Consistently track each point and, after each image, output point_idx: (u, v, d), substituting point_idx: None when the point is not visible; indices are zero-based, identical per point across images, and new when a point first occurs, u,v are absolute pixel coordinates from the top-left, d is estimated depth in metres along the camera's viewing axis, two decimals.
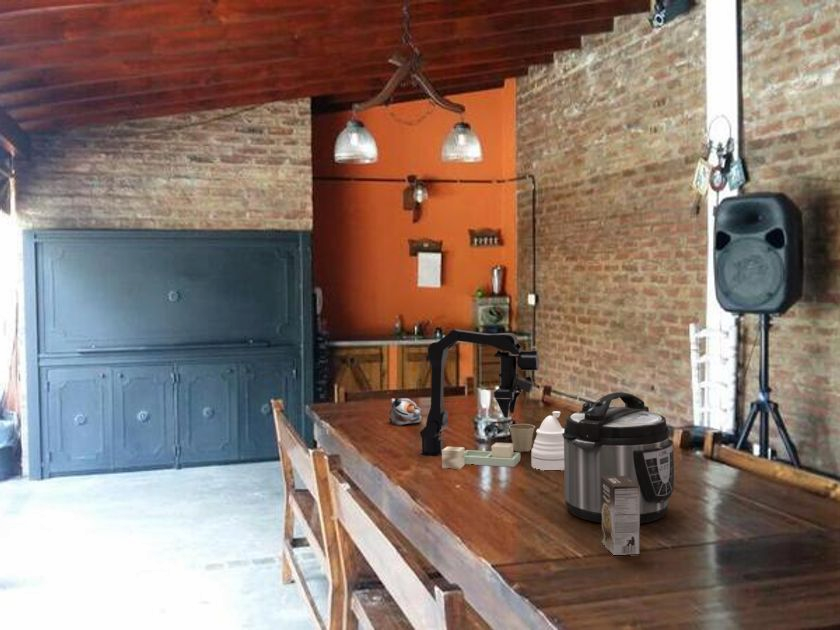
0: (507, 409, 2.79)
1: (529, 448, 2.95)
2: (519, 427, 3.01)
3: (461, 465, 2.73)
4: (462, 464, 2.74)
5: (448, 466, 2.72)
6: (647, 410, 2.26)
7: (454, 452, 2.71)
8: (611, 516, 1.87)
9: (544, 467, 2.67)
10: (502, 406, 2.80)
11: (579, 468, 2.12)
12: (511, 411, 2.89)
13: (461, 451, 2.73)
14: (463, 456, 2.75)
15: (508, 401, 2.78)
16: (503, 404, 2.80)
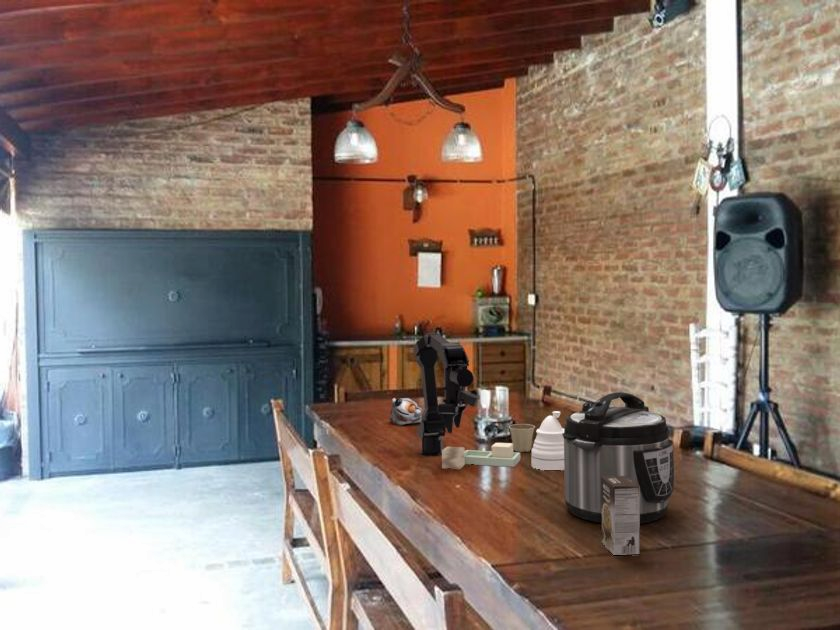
0: (451, 424, 2.69)
1: (529, 448, 2.95)
2: (519, 427, 3.01)
3: (461, 465, 2.73)
4: (462, 464, 2.74)
5: (448, 466, 2.72)
6: (647, 410, 2.26)
7: (454, 452, 2.71)
8: (612, 516, 1.87)
9: (544, 467, 2.67)
10: (446, 421, 2.69)
11: (579, 468, 2.12)
12: (457, 425, 2.79)
13: (461, 451, 2.73)
14: (463, 456, 2.75)
15: (452, 416, 2.68)
16: (447, 418, 2.69)
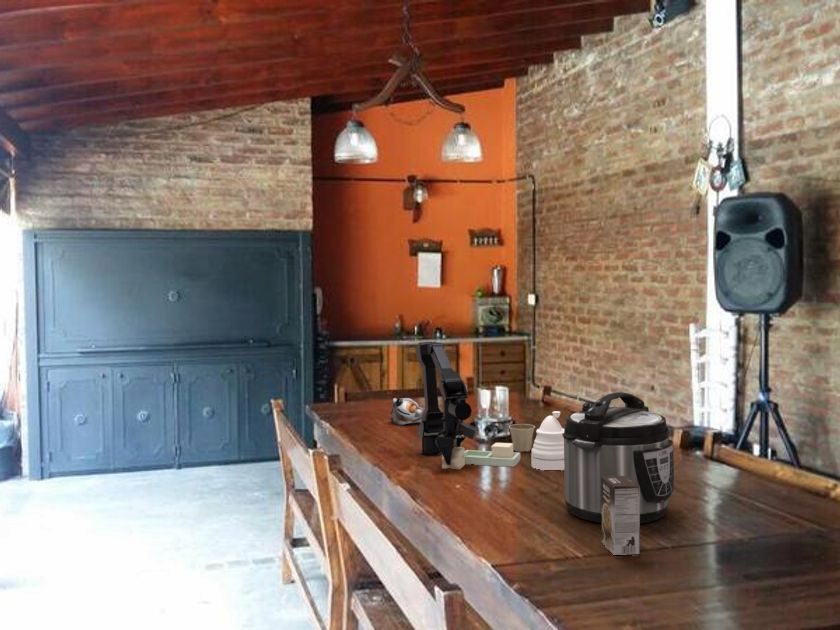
0: (449, 456, 2.70)
1: (529, 448, 2.95)
2: (519, 427, 3.01)
3: (461, 465, 2.73)
4: (462, 464, 2.74)
5: (448, 466, 2.72)
6: (647, 410, 2.26)
7: (454, 452, 2.71)
8: (612, 516, 1.87)
9: (544, 467, 2.67)
10: (444, 453, 2.70)
11: (579, 468, 2.12)
12: None
13: (461, 451, 2.73)
14: (463, 456, 2.75)
15: (450, 448, 2.68)
16: (445, 450, 2.70)
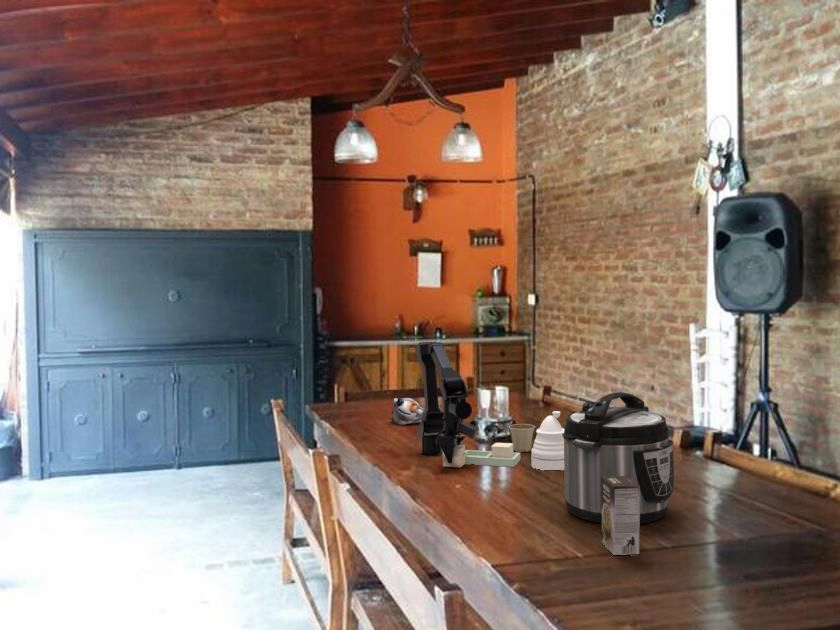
0: (451, 454, 2.71)
1: (529, 448, 2.95)
2: (519, 427, 3.01)
3: (462, 463, 2.73)
4: (463, 462, 2.74)
5: (449, 464, 2.72)
6: (647, 410, 2.26)
7: (455, 450, 2.72)
8: (611, 516, 1.87)
9: (544, 467, 2.67)
10: (446, 451, 2.71)
11: (579, 468, 2.12)
12: None
13: (462, 449, 2.73)
14: (464, 454, 2.76)
15: (452, 446, 2.69)
16: (447, 449, 2.71)
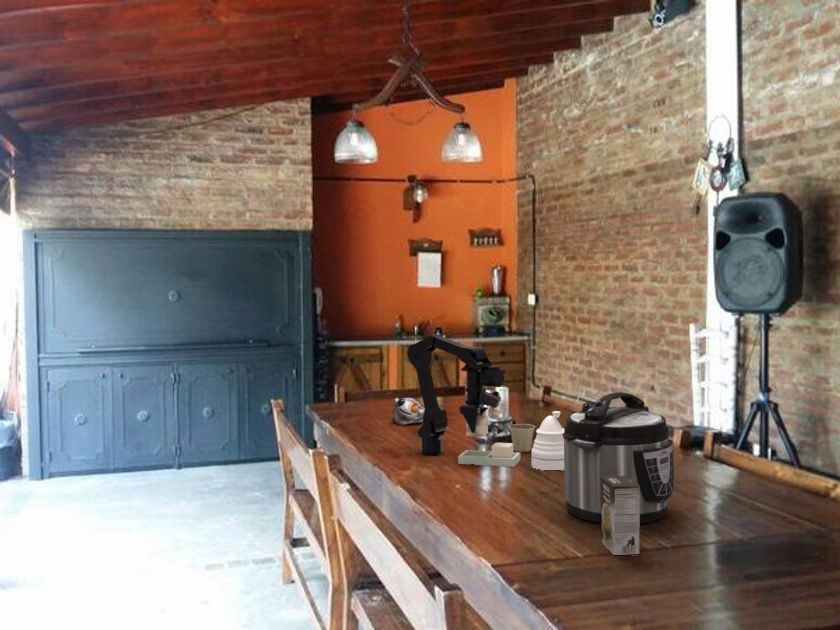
0: (474, 424, 2.77)
1: (529, 448, 2.95)
2: (519, 427, 3.01)
3: (485, 432, 2.79)
4: (486, 432, 2.80)
5: (472, 433, 2.78)
6: (647, 410, 2.26)
7: (478, 419, 2.78)
8: (611, 516, 1.87)
9: (544, 467, 2.67)
10: (469, 421, 2.77)
11: (579, 468, 2.12)
12: None
13: (485, 419, 2.79)
14: (486, 424, 2.82)
15: (475, 416, 2.76)
16: (470, 418, 2.77)
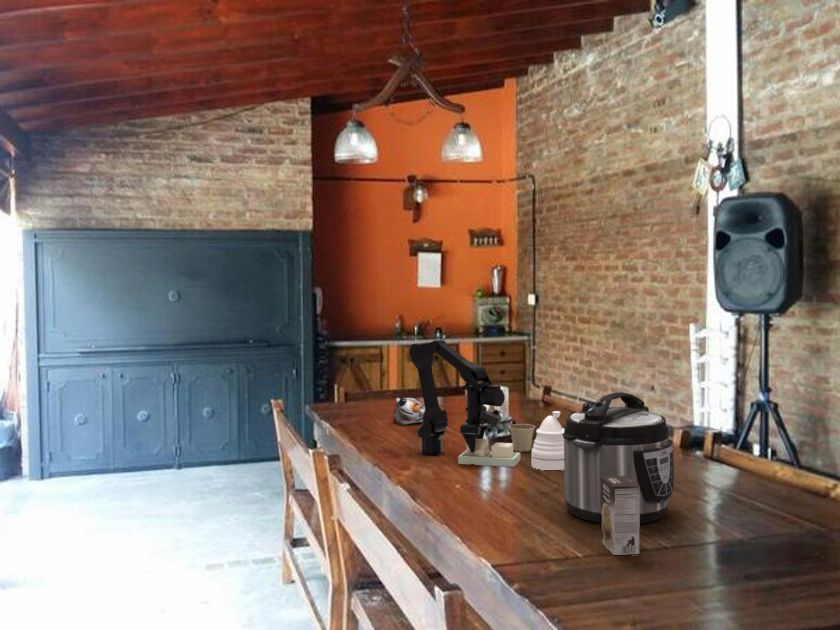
0: (473, 444, 2.76)
1: (529, 448, 2.95)
2: (519, 427, 3.01)
3: (485, 456, 2.80)
4: (486, 455, 2.81)
5: None
6: (647, 410, 2.26)
7: (478, 444, 2.78)
8: (612, 516, 1.87)
9: (544, 467, 2.67)
10: (468, 441, 2.76)
11: (579, 468, 2.12)
12: None
13: (485, 443, 2.80)
14: (487, 448, 2.82)
15: (474, 436, 2.75)
16: (469, 438, 2.76)
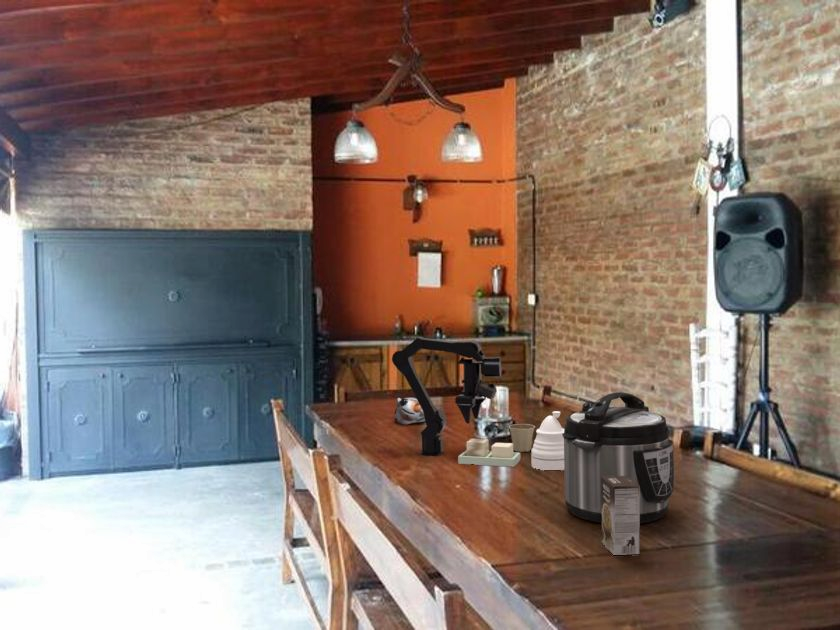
0: (468, 415, 2.86)
1: (529, 448, 2.95)
2: (519, 427, 3.01)
3: (485, 456, 2.80)
4: (486, 455, 2.81)
5: None
6: (647, 410, 2.26)
7: (478, 444, 2.78)
8: (611, 516, 1.87)
9: (544, 467, 2.67)
10: (464, 412, 2.86)
11: (579, 468, 2.12)
12: (475, 417, 2.95)
13: (485, 443, 2.80)
14: (487, 448, 2.82)
15: (469, 407, 2.84)
16: (464, 409, 2.86)
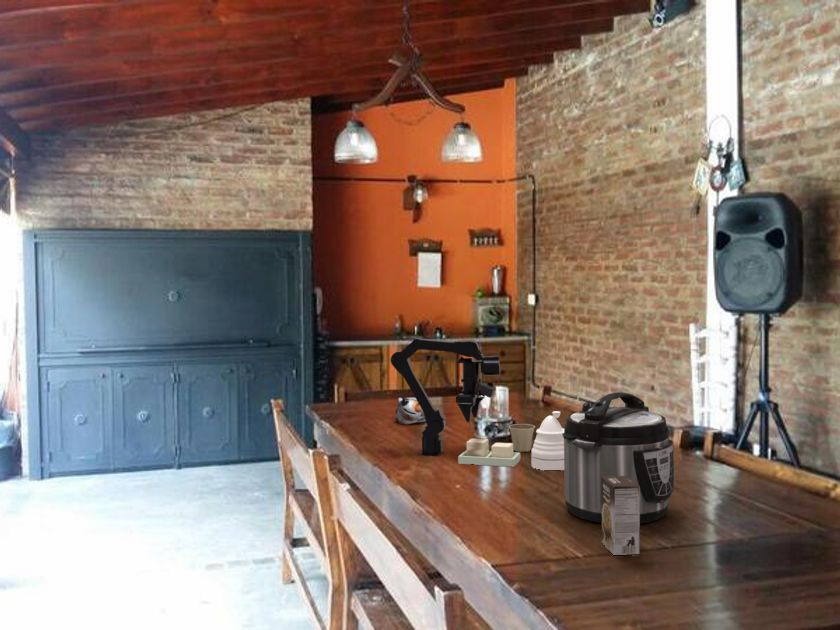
0: (469, 414, 2.87)
1: (529, 448, 2.95)
2: (519, 427, 3.01)
3: (485, 456, 2.80)
4: (486, 455, 2.81)
5: None
6: (647, 410, 2.26)
7: (478, 444, 2.78)
8: (611, 516, 1.87)
9: (544, 467, 2.67)
10: (464, 411, 2.87)
11: (579, 468, 2.12)
12: (474, 415, 2.97)
13: (485, 443, 2.80)
14: (487, 448, 2.82)
15: (470, 406, 2.86)
16: (465, 408, 2.87)
